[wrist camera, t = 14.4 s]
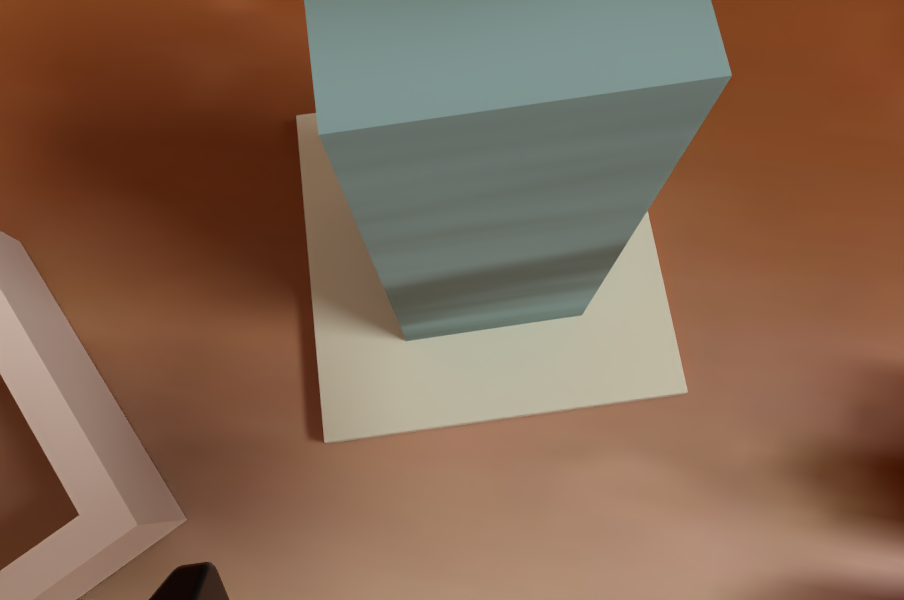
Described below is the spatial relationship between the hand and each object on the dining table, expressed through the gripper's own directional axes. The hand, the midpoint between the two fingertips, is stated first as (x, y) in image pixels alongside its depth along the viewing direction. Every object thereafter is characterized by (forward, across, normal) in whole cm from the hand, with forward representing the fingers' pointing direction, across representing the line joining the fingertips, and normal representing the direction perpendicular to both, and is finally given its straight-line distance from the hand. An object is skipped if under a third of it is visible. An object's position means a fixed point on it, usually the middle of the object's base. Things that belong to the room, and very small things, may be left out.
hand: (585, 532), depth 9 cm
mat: (+13, 0, +2) cm, 13 cm away
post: (+13, 0, +2) cm, 13 cm away
